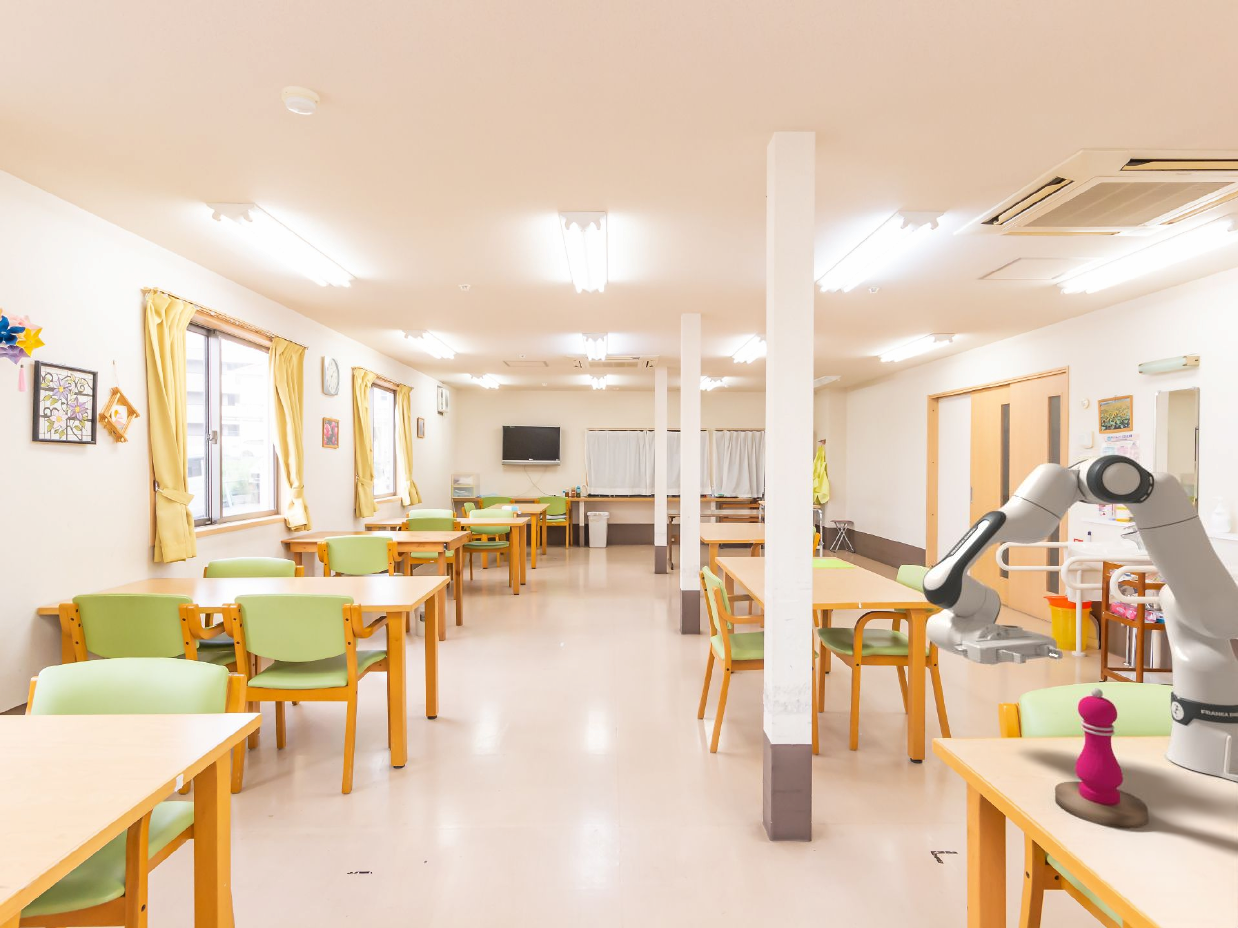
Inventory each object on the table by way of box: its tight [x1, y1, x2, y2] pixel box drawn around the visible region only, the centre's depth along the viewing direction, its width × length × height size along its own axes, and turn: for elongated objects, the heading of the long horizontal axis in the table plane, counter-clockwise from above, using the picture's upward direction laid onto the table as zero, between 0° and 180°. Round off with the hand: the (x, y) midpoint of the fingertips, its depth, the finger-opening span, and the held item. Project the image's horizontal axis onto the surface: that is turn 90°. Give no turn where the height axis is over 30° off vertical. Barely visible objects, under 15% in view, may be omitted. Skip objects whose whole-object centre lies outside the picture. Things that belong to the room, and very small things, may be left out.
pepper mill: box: [1075, 687, 1124, 805], centre depth 126 cm, size 7×7×20 cm
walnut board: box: [1054, 780, 1149, 829], centre depth 125 cm, size 14×14×2 cm
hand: (1041, 657), depth 138 cm, fingers open, 8 cm apart
